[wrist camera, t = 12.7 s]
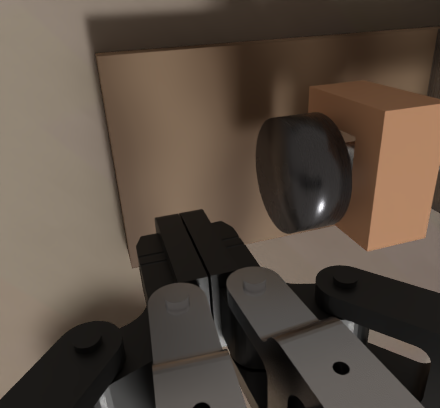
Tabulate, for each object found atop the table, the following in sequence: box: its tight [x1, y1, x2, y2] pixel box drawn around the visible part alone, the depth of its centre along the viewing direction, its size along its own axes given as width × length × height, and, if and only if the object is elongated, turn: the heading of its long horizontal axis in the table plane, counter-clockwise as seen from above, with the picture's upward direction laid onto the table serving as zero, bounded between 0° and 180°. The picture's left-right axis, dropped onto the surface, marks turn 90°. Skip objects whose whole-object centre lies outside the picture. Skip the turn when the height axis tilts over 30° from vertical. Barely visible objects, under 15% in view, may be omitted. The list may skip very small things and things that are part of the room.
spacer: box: [308, 80, 440, 251], centre depth 19 cm, size 3×6×6 cm, turn 3°
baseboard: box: [95, 26, 440, 268], centre depth 24 cm, size 24×11×2 cm, turn 93°
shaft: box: [256, 112, 440, 234], centre depth 19 cm, size 12×5×5 cm, turn 93°
